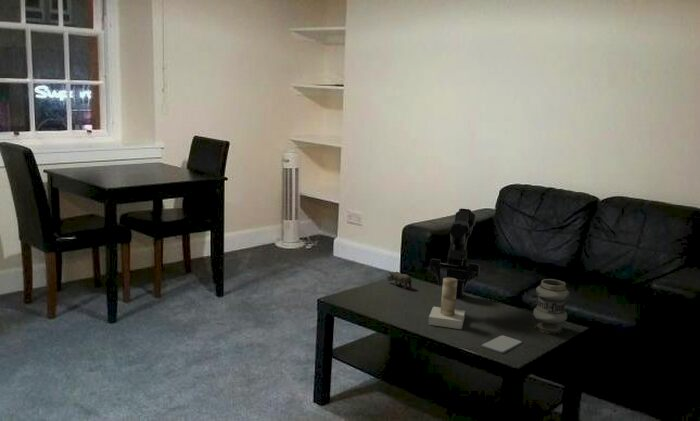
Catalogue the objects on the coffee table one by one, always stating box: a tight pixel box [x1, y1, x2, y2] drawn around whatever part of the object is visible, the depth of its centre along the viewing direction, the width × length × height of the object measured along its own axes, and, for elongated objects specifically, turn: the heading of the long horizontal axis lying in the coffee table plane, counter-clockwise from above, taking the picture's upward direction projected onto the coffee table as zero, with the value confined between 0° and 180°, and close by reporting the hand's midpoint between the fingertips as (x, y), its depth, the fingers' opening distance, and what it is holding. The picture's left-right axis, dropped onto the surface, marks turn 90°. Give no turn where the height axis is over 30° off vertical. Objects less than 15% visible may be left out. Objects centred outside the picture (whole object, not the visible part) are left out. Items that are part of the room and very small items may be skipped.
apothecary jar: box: [532, 278, 570, 334], centre depth 245 cm, size 12×12×18 cm
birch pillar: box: [440, 277, 457, 316], centre depth 247 cm, size 5×5×13 cm
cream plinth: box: [427, 306, 466, 330], centre depth 248 cm, size 12×12×3 cm
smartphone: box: [480, 334, 523, 355], centre depth 229 cm, size 8×1×15 cm
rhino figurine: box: [386, 271, 413, 290], centre depth 288 cm, size 4×14×6 cm, turn 44°
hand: (451, 287), depth 253 cm, fingers open, 9 cm apart
